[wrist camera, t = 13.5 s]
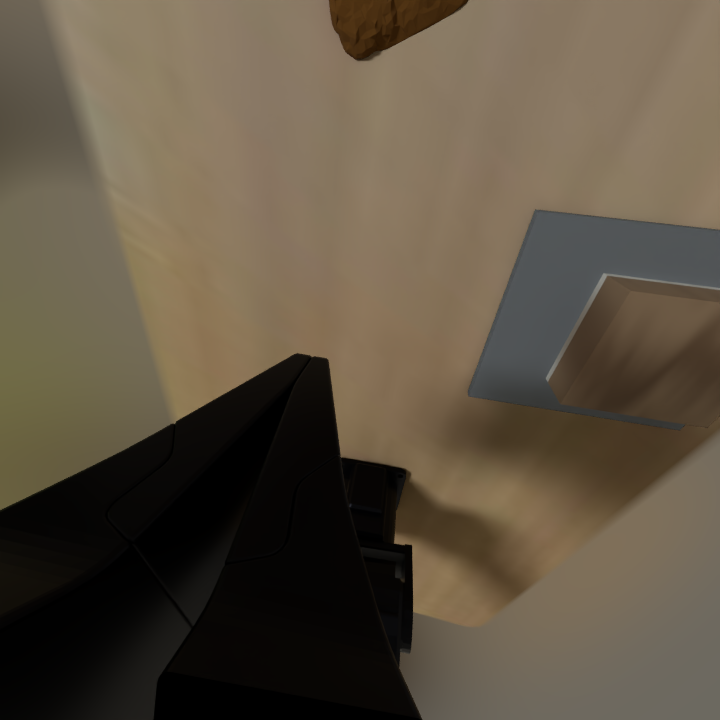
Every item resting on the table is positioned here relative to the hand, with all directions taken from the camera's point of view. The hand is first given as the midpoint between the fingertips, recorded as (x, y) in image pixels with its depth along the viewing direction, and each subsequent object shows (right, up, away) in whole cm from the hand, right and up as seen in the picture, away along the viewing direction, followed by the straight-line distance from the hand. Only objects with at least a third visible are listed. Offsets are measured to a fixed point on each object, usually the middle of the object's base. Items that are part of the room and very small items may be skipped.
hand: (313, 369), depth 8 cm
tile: (+13, +1, +9) cm, 16 cm away
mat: (+16, +2, +10) cm, 19 cm away
